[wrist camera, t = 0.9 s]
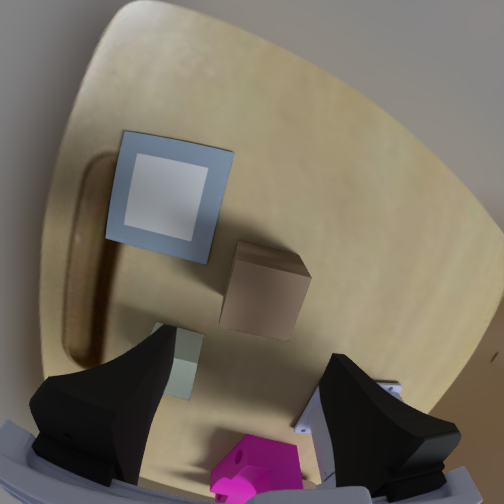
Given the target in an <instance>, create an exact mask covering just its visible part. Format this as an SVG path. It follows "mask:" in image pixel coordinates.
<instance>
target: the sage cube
mask: <svg viewBox="0 0 504 504" xmlns="http://www.w3.org/2000/svg"><path fill="white" fill-rule="evenodd" d="M162 325H163V323H159V322H156V324H155V326H154V328H153V330H152V332H151V334H152V333H153V332H155V331H156V330H157V329H158V328H159V327H160V326H162ZM166 325H167V324H166ZM151 334H150V335H151ZM203 338H204V334H201V333H197V332H193V331H189V330H185V329H182V328H178V327H177V334H176V343H175V352H174V362H173V366H172V370H171V374H170V377H169V381H168V383H167V386H166V388H165V390H164V393H163V394H166V395H170V396H173V397H177V398H181V399H185V400H189V401H190V397H191V393H192V388H193V383H194V379H195V374H196V370H197V365H198V360H199V356H200V351H201V347H202V343H203Z"/></svg>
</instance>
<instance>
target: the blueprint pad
mask: <svg viewBox="0 0 504 504" xmlns="http://www.w3.org/2000/svg"><path fill="white" fill-rule="evenodd" d="M233 156H234V153H233V152H229V151H225V150H221V149H216V148H212V147H207V146H203V145H198V144H194V143H189V142H184V141H179V140H174V139H169V138H163V137H158V136H152V135H146V134H140V133H134V132H128V131H125V132H124V136H123V140H122V144H121V149H120V153H119V158H118V162H117V167H116V172H115V178H114V183H113V189H112V195H111V201H110V207H109V214H108V221H107V229H106V238H107V239H110V240H114V241H118V242H121V243H125V244H129V245H132V246H136V247H140V248H144V249H147V250H151V251H155V252H159V253H163V254H166V255H170V256H174V257H178V258H182V259H186V260H190V261H194V262H197V263H201V264H205V265H206V264H207V261H208V256H209V252H210V248H211V244H212V239H213V235H214V231H215V227H216V223H217V219H218V215H219V211H220V207H221V203H222V199H223V195H224V191H225V187H226V183H227V179H228V175H229V171H230V168H231V164H232V160H233Z"/></svg>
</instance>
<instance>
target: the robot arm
mask: <svg viewBox="0 0 504 504" xmlns="http://www.w3.org/2000/svg"><path fill="white" fill-rule="evenodd" d="M176 334H177V327H174V326H170V325H166V324H163V325H162V326H160V327H159V328H158V329H157V330H156V331H155V332H153V333H152V334H151V335H150V336H149V337H147V338H146V339H145V340H143V341H142V342H141V343H139V344H138V345H137V346H135V347H134V348H132V349H131V350H129V351H127V352H126V353H124V354H123V355H121V356H119V357H117V358H115V359H113V360H111V361H109V362H107V363H104V364H102V365H99V366H96V367H94V368H91V369H88V370H84V371H80V372H76V373H71V374H66V375H58V376H49V377H48V378H47V379H46V380H45V381H44V382H43V383H42V385H41V386H40V387H39V388H38V390H37V391H36V392H35V394H34V395H33V397H32V398H31V399H30V403H29V406H30V410H31V413H32V415H33V418H34V420H35V422H36V425H37V427H38V429H39V431H40V433H39V435H38V436H37V438H35V437H34V436H33V435H32V434H31V433H30V432H28V431H27V430H25V429H23V428H21V427H20V426H18V425H16V424H15V423H13V422H12V421H10V420H6V421H5V423H4V424H3V426H2V427H1V428H0V487H1V488H2V489H3V490H4V491H5V492H6V493H7V494H9V495H10V496H12V497H14V498H15V499H16V500H18V501H19V502H21V503H23V504H227V503H219V502H210V501H204V500H197V499H191V498H186V497H181V496H176V495H171V494H166V493H162V492H158V491H153V490H150V489H146V488H142V487H139V486H137V484H138V478H139V473H140V468H141V464H142V459H143V455H144V451H145V446H146V442H147V438H148V434H149V431H150V427H151V423H152V420H153V417H154V415H155V412H156V410H157V407H158V405H159V403H160V400H161V398H162V395H163V393H164V390H165V388H166V386H167V383H168V381H169V377H170V374H171V370H172V366H173V362H174V352H175V343H176ZM401 389H402V386H401V384H399V383H380V382H375V381H374V380H373V379H371V378H370V377H369V376H368V375H367V374H366V373H365V372H364V371H363V370H362V369H360V368H359V367H358V366H357V365H356V364H355V363H354V362H353V361H352V360H351V359H349V358H348V357H347V356H346V355H344V354H336V353H333V354H332V356H331V358H330V361H329V363H328V365H327V367H326V370H325V372H324V374H323V376H322V378H321V380H320V383H319V385H318V386H317V388H316V390H315V392H314V394H313V396H312V398H311V399H310V401H309V403H308V405H307V407H306V408H305V410H304V412H303V414H302V415H301V417H300V419H299V420H298V422H297V424H296V425H295V427H294V432H296V433H306V434H312V439H313V443H314V448H315V453H316V457H317V462H318V467H319V471H320V476H321V481H322V483H321V484H319V485H317V486H316V489H296V490H274V491H267V492H264V493H260V494H256V495H255V496H253V497H252V498H250V499H249V500H247V501H246V503H245V504H480V503H481V502H482V501H483V499H482V497H481V495H480V493H479V491H478V489H477V488H476V486H475V484H474V482H473V480H472V479H471V477H470V475H469V473H468V471H467V469H466V468H465V467H464V466H463V467H460V468H457V469H454V470H452V471H449V472H447V473H446V474H443V472H442V470H443V469H444V468H445V465H444V464H443V461H444V460H445V459H446V458H447V457H448V455H450V453H451V452H452V451H453V450H454V449H455V448H456V446H457V445H458V444H459V442H460V440H461V434H460V432H459V430H458V428H457V427H456V425H455V424H454V423H451V422H448V421H444V420H441V419H438V418H435V417H432V416H429V415H427V414H425V413H423V412H420V411H418V410H416V409H414V408H412V407H411V406H409V405H407V404H405V403H404V402H403V400H402V398H401V397H400V395H399V392H400V390H401Z"/></svg>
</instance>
